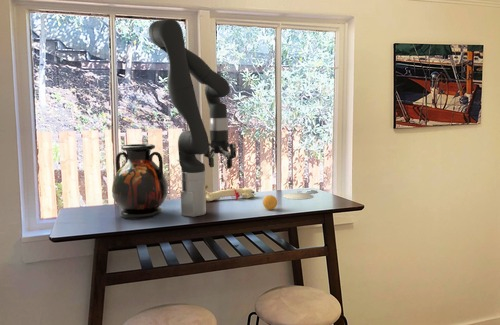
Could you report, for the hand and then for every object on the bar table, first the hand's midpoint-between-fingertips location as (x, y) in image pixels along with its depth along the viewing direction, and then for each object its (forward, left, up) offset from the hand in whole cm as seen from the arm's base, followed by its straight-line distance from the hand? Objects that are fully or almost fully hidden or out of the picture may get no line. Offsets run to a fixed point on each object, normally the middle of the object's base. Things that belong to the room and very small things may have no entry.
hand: (220, 167), depth 179 cm
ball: (+7, -19, -14) cm, 25 cm away
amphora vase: (-24, +23, -18) cm, 37 cm away
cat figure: (+17, +7, -18) cm, 26 cm away
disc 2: (+49, -19, -17) cm, 56 cm away
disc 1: (+37, -19, -17) cm, 45 cm away
